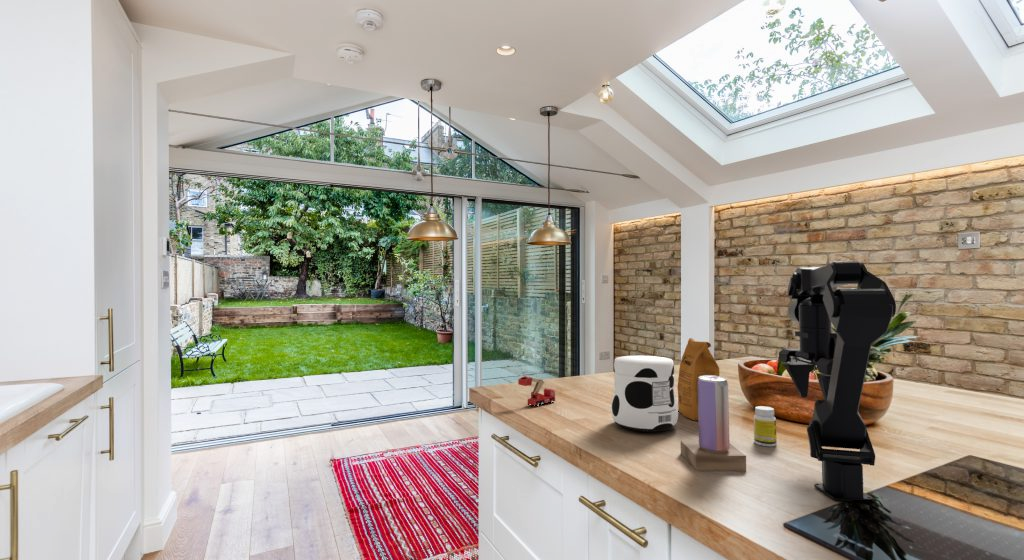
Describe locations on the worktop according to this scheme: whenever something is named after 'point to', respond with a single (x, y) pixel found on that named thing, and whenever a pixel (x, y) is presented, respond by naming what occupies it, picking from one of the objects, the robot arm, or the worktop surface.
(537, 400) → the toy fire truck
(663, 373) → the milk container
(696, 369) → the coffee package
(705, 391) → the beverage can
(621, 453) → the worktop surface
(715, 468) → the walnut base brick
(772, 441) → the supplement bottle
